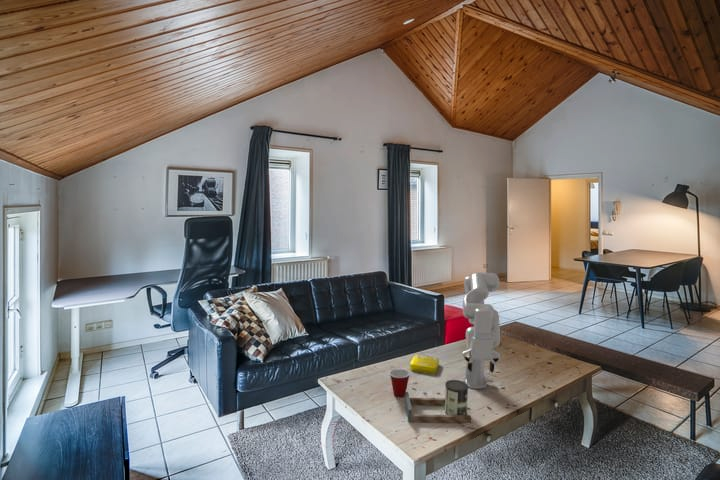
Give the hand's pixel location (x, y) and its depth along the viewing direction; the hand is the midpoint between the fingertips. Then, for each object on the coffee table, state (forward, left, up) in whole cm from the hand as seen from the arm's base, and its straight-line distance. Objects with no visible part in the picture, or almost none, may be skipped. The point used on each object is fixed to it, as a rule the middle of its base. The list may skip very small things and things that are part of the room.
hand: (480, 370), depth 178 cm
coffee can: (+11, 0, -21) cm, 24 cm away
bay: (+20, 0, -21) cm, 29 cm away
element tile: (+18, -49, -21) cm, 56 cm away
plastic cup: (+36, -16, -21) cm, 45 cm away
